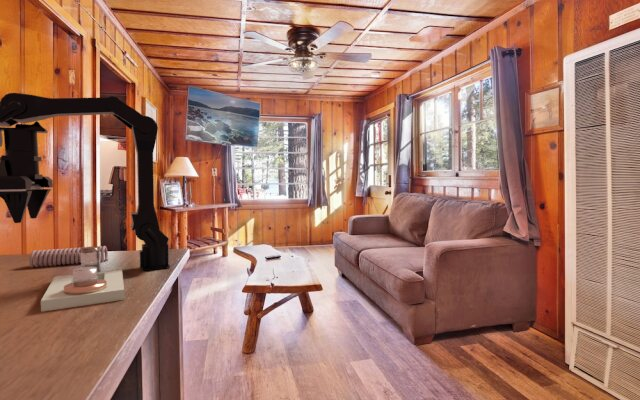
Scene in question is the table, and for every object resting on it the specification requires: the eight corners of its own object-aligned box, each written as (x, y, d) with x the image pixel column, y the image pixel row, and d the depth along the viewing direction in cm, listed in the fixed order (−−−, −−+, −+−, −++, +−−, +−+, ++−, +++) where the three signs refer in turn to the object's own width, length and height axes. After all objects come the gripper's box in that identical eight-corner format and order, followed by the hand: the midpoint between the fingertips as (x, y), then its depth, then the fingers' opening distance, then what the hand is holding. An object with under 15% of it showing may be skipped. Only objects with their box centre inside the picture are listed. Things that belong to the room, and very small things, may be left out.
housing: (122, 277, 85) (121, 269, 85) (124, 299, 69) (124, 289, 69) (55, 285, 78) (54, 276, 78) (41, 311, 63) (40, 300, 63)
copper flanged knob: (106, 282, 74) (106, 263, 74) (106, 291, 68) (105, 270, 68) (66, 287, 71) (65, 267, 70) (61, 297, 65) (61, 275, 64)
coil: (27, 253, 92) (106, 248, 100) (32, 248, 96) (108, 243, 104) (28, 270, 93) (107, 263, 100) (33, 264, 97) (109, 258, 105)
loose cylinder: (101, 273, 89) (100, 245, 88) (100, 277, 85) (99, 248, 85) (81, 275, 87) (80, 247, 86) (80, 279, 83) (79, 250, 83)
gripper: (-5, 153, 85) (-1, 218, 86) (-50, 147, 68) (-44, 227, 69) (51, 154, 89) (55, 215, 90) (22, 149, 72) (26, 224, 73)
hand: (26, 220), depth 80 cm, fingers open, 9 cm apart
